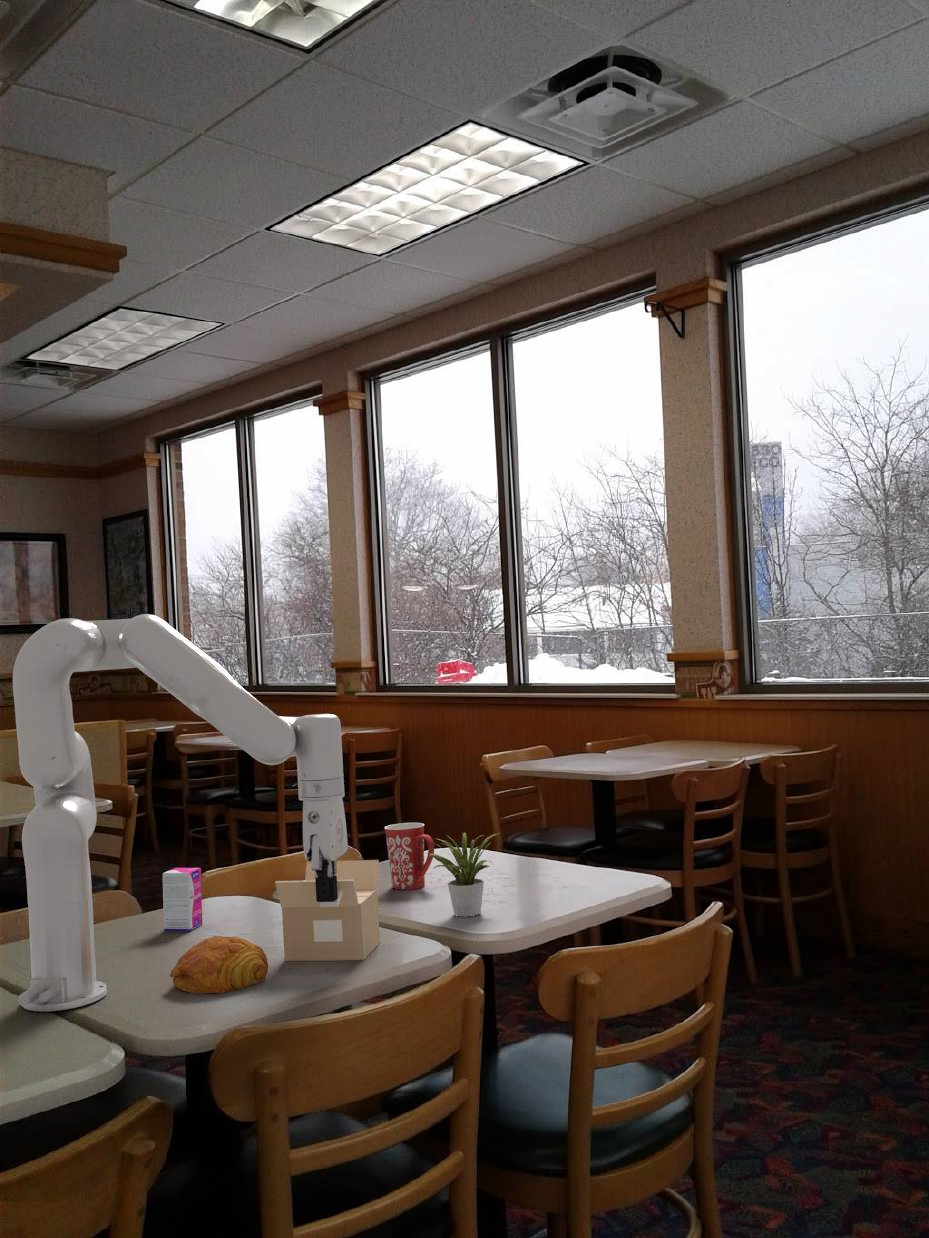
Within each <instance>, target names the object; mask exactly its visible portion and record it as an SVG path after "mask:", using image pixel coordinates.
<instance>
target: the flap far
mask: <svg viewBox="0 0 929 1238" xmlns="http://www.w3.org/2000/svg"><path fill="white" fill-rule="evenodd" d="M379 862H380V861H379V859H364V860H361V859H360V860H337V874H336V875H337V880H346V879H354V884H355V889H356V890H364V889H377V890H378V884H379V880H378V878H379V867H380V866H379ZM305 863H306V865H305V866H306V867H305V877H304V880H315V874H314V870H312V861H306V862H305Z"/></svg>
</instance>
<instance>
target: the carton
mask: <svg viewBox="0 0 929 1238" xmlns="http://www.w3.org/2000/svg"><path fill="white" fill-rule="evenodd" d="M356 894H357V898H358V903H359V905H358V906H338V907H281V916H282V917H281V918H282V933H283V934H282V935H283V953H284V962H296V961H298V962H299V961H302V962H303V961H305V962H309V961H314V962H315V961H365V960H366V958H367V957H368V956H370V954H371V953H372V952H373V951H374V949H375V948H376V947H377V946H378V945H380V943H381V939H380V937H381V936H380V923H379V922H380V920H379V903H378V901H379V900H378V888H377V889H358V890H356Z"/></svg>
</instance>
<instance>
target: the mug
mask: <svg viewBox="0 0 929 1238" xmlns="http://www.w3.org/2000/svg"><path fill="white" fill-rule="evenodd" d="M383 830H384V832H385V838H386V846H387V853H388V854H387V855H388V863H389V871H390V881H391V888H392V889H393V888H395V889H394V890H397V889H401V890H400V891H402V889H403V890H404V889H405V890H404V891H406V890H415V889H420V888H423V887H425V885H426V884H425V883H426V881H425V880H426V879H425V875H426V873H428V872H427V871H428V870H429V868H430V866H431V864H432V861H433V859H434V857H432V856H429V855H428V854H427V857H426V859H425V842H426V844H427V849H428V850H427V853H429V854H435V843H434V840H433V837H431V836H430V835H429V834H425V824H424V823H421V822H403V823H394V824H389V825H387V826H384V827H383Z"/></svg>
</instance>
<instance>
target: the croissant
mask: <svg viewBox="0 0 929 1238" xmlns="http://www.w3.org/2000/svg"><path fill="white" fill-rule="evenodd" d="M268 971H269V963H268V958H267V955H266V953H265V951H264V950H263V948H262V947H261V946H259V945H257V944H255V943H254V942H251V941H249V940H248V939H245V938H241V937H237V936H235V937H233V936H232V937H231V936H222V935H219V936H217V935H214V936H211V937H208V938H204V939H203V940H201V941H199V942H198V943H197V944H195V945H193V946H192V947H191V948H189V949H188V950H187V951H186V952H184V954H182V955H181V956H180V957H179V958H178V960H177V961H176V963H175V966H174V967H173V968H172V970H171V971H170V974H169V977H171V978H172V983H173V985H175V987H176V988H177V989H179V990H181V991H183V992H187V993H191V994H199V995H201V994H203V995H204V994H205V995H206V994H225V993H230V992H233V991H234V990H241V989H243V988H247V987H250V986H254V985H255V984H259V983H261V982H263V981H264V980H265V979H266V977H267V975H268Z"/></svg>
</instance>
